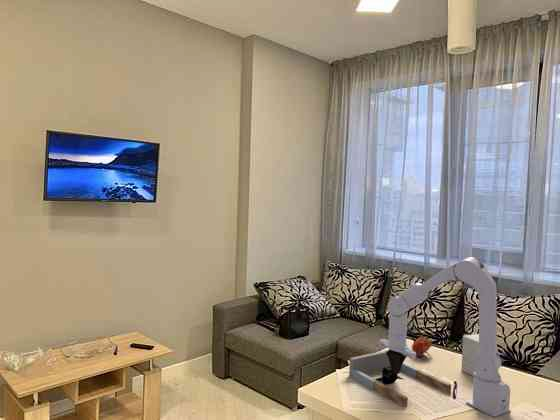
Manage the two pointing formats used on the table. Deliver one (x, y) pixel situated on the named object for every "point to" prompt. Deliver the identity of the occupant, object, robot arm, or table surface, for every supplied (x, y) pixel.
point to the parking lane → (376, 363)
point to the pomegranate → (421, 346)
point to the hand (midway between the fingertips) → (395, 373)
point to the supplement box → (469, 353)
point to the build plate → (388, 376)
